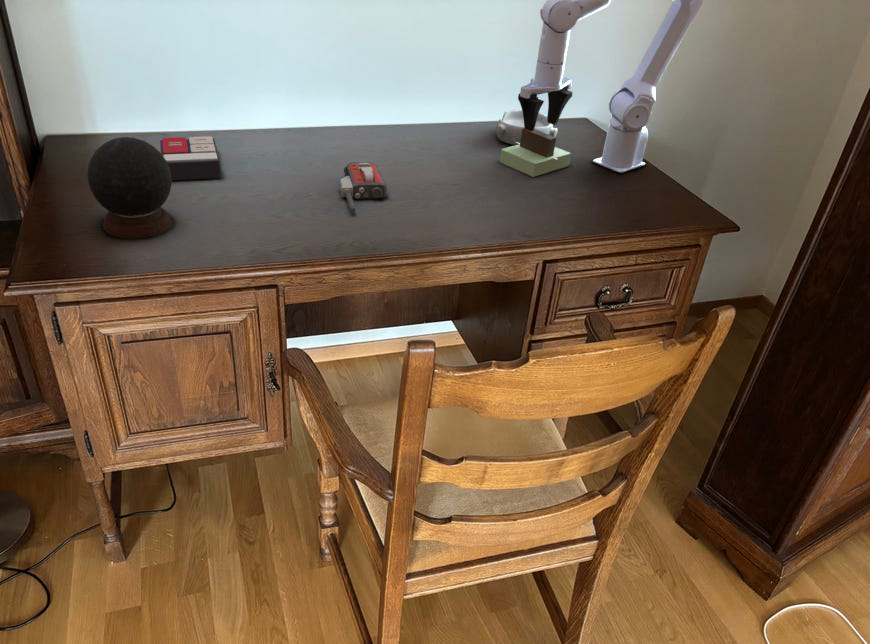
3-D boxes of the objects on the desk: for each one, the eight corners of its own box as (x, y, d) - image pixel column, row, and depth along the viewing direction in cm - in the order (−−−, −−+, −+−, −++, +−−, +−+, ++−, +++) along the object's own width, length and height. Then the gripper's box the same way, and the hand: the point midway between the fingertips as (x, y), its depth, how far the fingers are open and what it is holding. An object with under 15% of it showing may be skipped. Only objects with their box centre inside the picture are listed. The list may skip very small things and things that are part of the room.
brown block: (553, 155, 163) (556, 136, 160) (546, 157, 161) (550, 138, 159) (526, 144, 167) (529, 125, 165) (519, 146, 166) (522, 127, 163)
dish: (496, 146, 173) (499, 125, 170) (491, 127, 185) (493, 106, 182) (557, 150, 174) (561, 129, 171) (548, 130, 185) (552, 110, 182)
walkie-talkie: (334, 174, 153) (347, 216, 138) (334, 154, 151) (347, 194, 135) (376, 174, 155) (393, 215, 139) (377, 153, 153) (395, 193, 137)
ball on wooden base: (100, 245, 123) (83, 157, 114) (94, 212, 132) (77, 128, 123) (183, 235, 127) (172, 150, 119) (170, 204, 137) (160, 123, 128)
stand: (531, 150, 173) (533, 137, 171) (572, 167, 166) (575, 153, 164) (495, 160, 166) (497, 146, 164) (536, 179, 159) (538, 164, 157)
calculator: (214, 134, 157) (219, 156, 145) (215, 154, 160) (221, 178, 148) (159, 136, 154) (160, 159, 142) (162, 156, 157) (163, 181, 145)
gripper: (558, 52, 160) (548, 115, 168) (513, 60, 152) (504, 126, 160) (584, 60, 156) (572, 124, 164) (539, 69, 148) (528, 136, 156)
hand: (540, 126), depth 161 cm, fingers open, 7 cm apart
